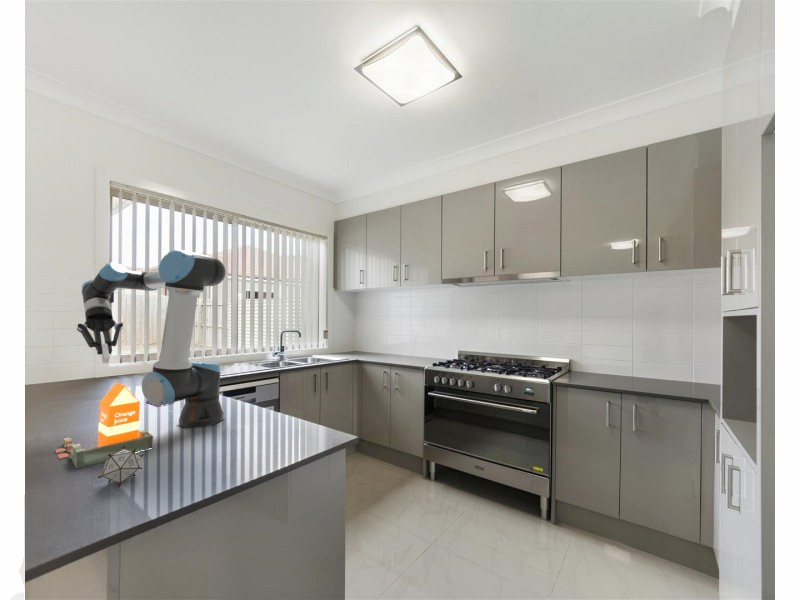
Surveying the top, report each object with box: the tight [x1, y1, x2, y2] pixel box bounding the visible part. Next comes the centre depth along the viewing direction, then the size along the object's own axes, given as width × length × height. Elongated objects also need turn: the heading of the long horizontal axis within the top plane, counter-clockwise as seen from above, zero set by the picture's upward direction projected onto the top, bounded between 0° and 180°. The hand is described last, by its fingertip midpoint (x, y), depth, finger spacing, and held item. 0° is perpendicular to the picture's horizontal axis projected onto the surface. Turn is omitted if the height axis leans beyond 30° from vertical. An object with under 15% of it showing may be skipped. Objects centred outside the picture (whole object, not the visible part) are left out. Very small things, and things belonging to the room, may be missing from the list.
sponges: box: [145, 399, 175, 407], centre depth 158 cm, size 7×13×2 cm, turn 57°
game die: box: [97, 446, 145, 488], centre depth 83 cm, size 9×8×10 cm
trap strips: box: [54, 447, 70, 460], centre depth 99 cm, size 10×2×1 cm, turn 51°
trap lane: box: [62, 429, 154, 469], centre depth 104 cm, size 26×17×4 cm, turn 51°
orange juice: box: [97, 382, 141, 447], centre depth 103 cm, size 8×9×20 cm
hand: (106, 360), depth 115 cm, fingers closed
